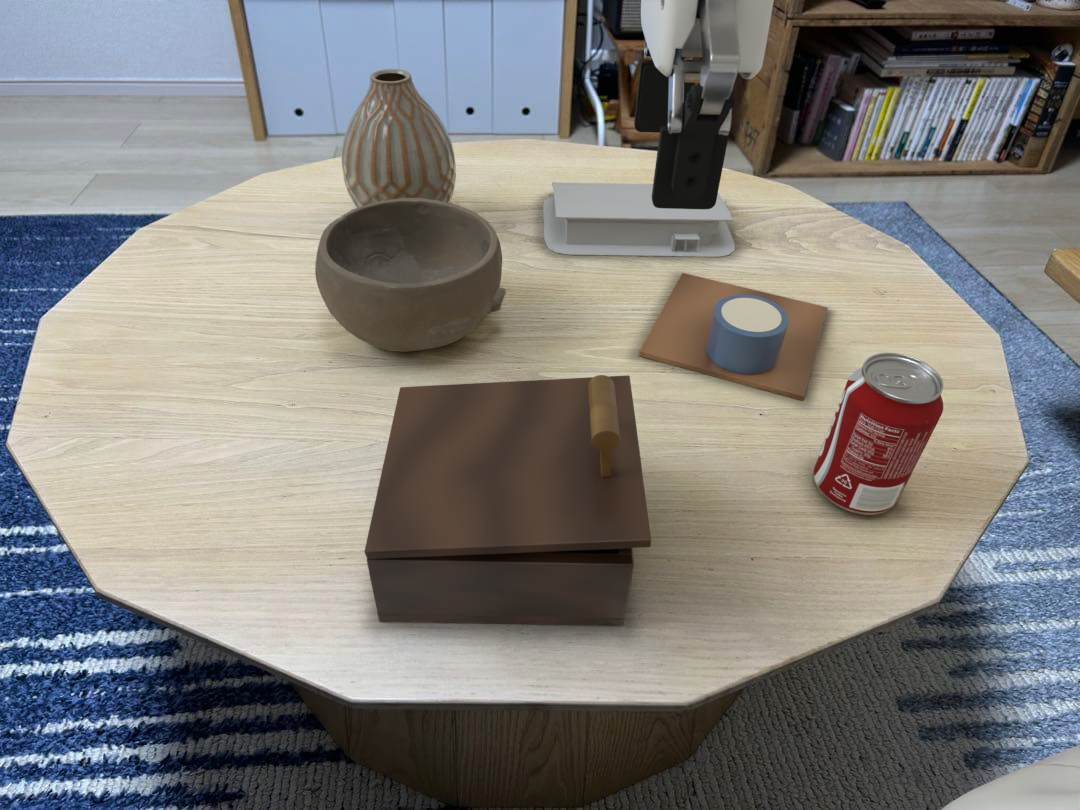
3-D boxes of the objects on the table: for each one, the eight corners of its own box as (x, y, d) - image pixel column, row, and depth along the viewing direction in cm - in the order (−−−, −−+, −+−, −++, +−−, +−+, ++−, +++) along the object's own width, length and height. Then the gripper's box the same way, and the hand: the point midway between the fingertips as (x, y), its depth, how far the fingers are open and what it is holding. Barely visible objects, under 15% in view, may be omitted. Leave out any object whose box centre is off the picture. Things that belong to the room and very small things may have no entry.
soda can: (903, 526, 60) (963, 412, 52) (815, 514, 61) (861, 400, 53) (888, 465, 65) (940, 352, 57) (806, 454, 66) (847, 342, 58)
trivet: (826, 311, 82) (827, 307, 82) (803, 401, 71) (804, 396, 71) (681, 277, 87) (682, 272, 86) (638, 355, 76) (639, 351, 75)
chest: (608, 461, 65) (616, 399, 60) (623, 626, 53) (634, 565, 48) (408, 457, 64) (401, 395, 60) (378, 621, 52) (366, 560, 48)
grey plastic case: (740, 257, 90) (747, 227, 88) (545, 254, 90) (546, 224, 87) (715, 197, 102) (721, 169, 99) (542, 194, 101) (543, 166, 98)
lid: (629, 382, 59) (630, 327, 55) (651, 548, 47) (653, 491, 44) (401, 394, 60) (388, 341, 56) (366, 559, 48) (346, 504, 44)
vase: (344, 203, 98) (322, 60, 86) (446, 192, 101) (437, 52, 89) (358, 255, 88) (335, 101, 77) (469, 240, 91) (463, 91, 80)
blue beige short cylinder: (783, 342, 77) (794, 304, 74) (770, 382, 72) (782, 344, 69) (715, 324, 79) (723, 287, 76) (698, 363, 74) (705, 324, 71)
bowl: (536, 317, 80) (538, 231, 73) (411, 402, 69) (400, 311, 63) (420, 260, 88) (412, 177, 81) (292, 328, 77) (272, 240, 71)
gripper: (890, -221, 25) (772, 245, 36) (771, -238, 38) (711, 109, 49) (661, -229, 25) (614, 241, 36) (620, -243, 38) (595, 106, 49)
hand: (670, 165), depth 43 cm, fingers open, 9 cm apart
